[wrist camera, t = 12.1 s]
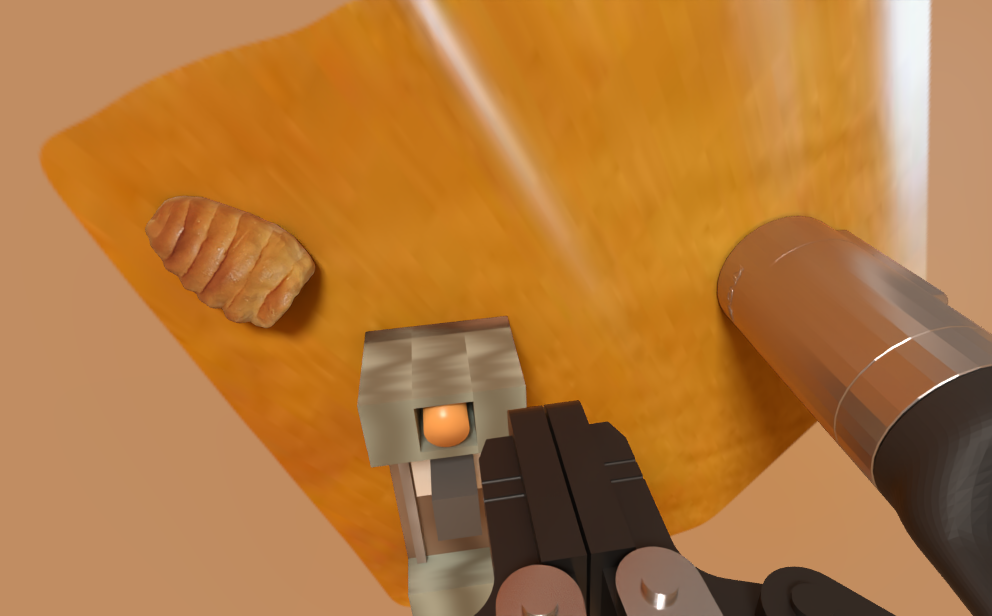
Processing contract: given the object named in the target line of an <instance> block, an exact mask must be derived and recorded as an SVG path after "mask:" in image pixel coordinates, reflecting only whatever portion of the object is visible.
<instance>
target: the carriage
mask: <svg viewBox="0 0 992 616" xmlns="http://www.w3.org/2000/svg"><path fill="white" fill-rule="evenodd" d="M480 454H481V453H477V454H469V455H461V456H454V457H446V458H438V459H431V460H423V461H415V462H411V465H412V471H413V477H414V482H415V488H416V493H417V497H418V496H426V495H432V505H433V511H434V517H435V524H436V530H437V536H438V541H443V540H450V539H457V538H464V537H471V536H478V535H482V528H481V518H480V508H479V498H478V488H482V484H481V476H480V467H479V457H480Z"/></svg>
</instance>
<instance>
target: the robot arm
mask: <svg viewBox="0 0 992 616" xmlns="http://www.w3.org/2000/svg"><path fill="white" fill-rule="evenodd" d="M717 294H718V299H719V303H720V305H721V307H722V309H723V311H724V313H725V314H726V315H727V316H728V318H729V319H730V320H731V321H732V322H733V323H734V324H735V326H736V327H737V328H738V329H739V330H740V331H741V333H742V334H743V335H744V336H745V337H746V338H747V339H748V341H749V342H750V343H751V344H752V346H753V347H754V348H755V349H756V350H757V351H758V353H759V354H760V355H761V356H762V357H763V358H764V359H765V361H766V362H767V363H768V364H769V365H770V366H771V368H772V369H773V370H774V371H775V372H776V373H777V374H778V376H779V377H780V378H781V379H782V380H783V381H784V383H785V384H786V385H787V386H788V387H789V388H790V389H791V391H792V392H793V393H794V394H795V395H796V396H797V398H798V399H799V400H800V401H801V402H802V403H803V404H804V406H805V407H806V408H807V409H808V410H809V411H810V413H811V414H812V415H813V416H814V417H815V418H816V419H817V421H818V422H819V423H820V424H821V425H822V426H823V428H824V429H825V430H826V431H827V432H828V433H829V434H830V436H831V437H832V438H833V439H834V440H835V441H836V442H837V444H838V445H839V446H840V447H841V448H842V449H843V450H844V451H845V452H846V454H847V455H848V456H849V457H850V458H851V460H852V461H853V462H854V463H855V464H856V465H857V466H858V468H859V469H860V470H861V471H862V472H863V473H864V475H865V476H866V477H867V478H868V479H869V480H870V481H871V483H872V484H873V485H874V486H875V487H876V488H877V489H878V491H879V492H880V493H881V494H882V495H883V496H884V497H885V499H886V500H887V501H888V502H889V503H890V504H891V506H892V507H893V508H894V509H895V510H896V512H897V514H898V516H899V518H900V520H901V522H902V524H903V525H904V527H905V529H906V531H907V532H908V534H909V535H910V537H911V538H912V540H913V541H914V542H915V544H916V545H917V546H918V548H919V549H920V550H921V551H922V552H923V554H924V555H925V556H926V557H927V559H928V560H929V561H930V562H931V564H932V565H933V566H934V567H935V568H936V570H937V571H938V572H939V573H940V574H941V576H942V577H943V578H944V579H945V580H946V582H947V583H948V584H949V585H950V587H951V588H952V589H953V591H954V592H955V593H956V595H957V596H958V597H959V598H960V600H961V601H962V602H963V603H964V605H965V606H966V607H967V609H968V610H969V611H970V612H971V614H972V615H973V616H992V334H991V333H989V332H988V331H986V330H985V329H983V328H982V327H980V326H979V325H977V324H976V323H974V322H973V321H971V320H970V319H968V318H966V317H965V316H964V315H962V314H961V313H959V312H957V311H956V310H954V309H953V308H951V307H950V306H948V298H947V296H946V294H944V292H942V291H941V290H939V289H937V288H936V287H934V286H933V285H931V284H930V283H928V282H927V281H925V280H923V279H922V278H920V277H919V276H917V275H916V274H914V273H913V272H911V271H909V270H908V269H906V268H905V267H903V266H902V265H900V264H898V263H897V262H895V261H894V260H892V259H891V258H889V257H888V256H886V255H884V254H883V253H881V252H880V251H878V250H877V249H875V248H874V247H872V246H870V245H869V244H867V243H866V242H864V241H863V240H861V239H860V238H858V237H856V236H855V235H853V234H852V233H850V232H849V231H847V230H842V231H835V230H834V229H832V228H831V227H829V226H828V225H826V224H825V223H823V222H821V221H819V220H816V219H814V218H811V217H803V216H793V217H785V218H781V219H778V220H774V221H771V222H769V223H767V224H765V225H763V226H761V227H759V228H757V229H756V230H754V231H753V232H752V233H750V234H749V235H747V236H746V237H745V238H744V239H743V240H742V241H741V242H740V243H739V244H738V245H737V246H736V247H735V248H734V249H733V251H732V252H731V253H730V255H729V256H728V258H727V259H726V261H725V263H724V265H723V267H722V269H721V272H720V276H719V280H718V291H717ZM507 418H508V431H509V436H505V437H498V438H491V439H486V441H485V444H484V446H483V449H482V452H481V454H480V457H479V467H480V476H481V484H482V492H483V501H484V509H485V517H486V524H487V531H488V538H489V545H490V552H491V560H492V567H493V574H494V585H493V588H492V592H491V594H490V596H489V598H488V600H487V601H486V603H485V604H484V606H483V607H482V608H481V609H480V610H479V611H478V612H477V613H476V614H475V615H474V616H895V615H894V614H892V613H890V612H888V611H887V610H885V609H883V608H882V607H880V606H878V605H876V604H875V603H873V602H871V601H869V600H868V599H866V598H864V597H862V596H861V595H859V594H857V593H855V592H854V591H852V590H850V589H848V588H847V587H845V586H843V585H842V584H840V583H838V582H836V581H835V580H833V579H831V578H829V577H827V576H826V575H824V574H822V573H820V572H817V571H814V570H811V569H807V568H803V567H785V568H780V569H778V570H776V571H774V572H772V573H771V574H770V575H769V576H768V577H767V578H766V579H765V581H764V583H763V584H759V583H752V582H745V581H738V580H731V579H725V578H721V577H716V576H713V575H711V574H708V573H706V572H704V571H701V570H700V569H698V568H697V567H695V566H694V565H693V564H692V563H691V562H690V561H689V560H687V559H686V558H685V557H683V556H682V555H681V554H680V553H679V551H678V550H677V549H676V547H675V546H674V544H673V542H672V540H671V538H670V535H669V533H668V531H667V529H666V526H665V524H664V522H663V520H662V517H661V515H660V513H659V511H658V508H657V506H656V504H655V502H654V500H653V497H652V495H651V493H650V491H649V488H648V486H647V484H646V482H645V479H643V476H642V473H641V471H640V468H639V466H638V464H637V462H635V457H634V455H633V453H632V450H631V448H630V446H629V444H628V441H627V439H626V437H624V436H623V435H622V434H621V433H620V432H619V431H618V430H617V429H616V428H615V427H613V426H612V425H611V424H610V423H609V422H602V423H595V424H589V423H588V420H587V418H586V415H585V413H584V410H583V407H582V405H581V403H580V401H579V400H576V401H569V402H562V403H555V404H547V405H544V407H542V406H534V407H527V408H520V409H513V410H507Z"/></svg>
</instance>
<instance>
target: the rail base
mask: <svg viewBox="0 0 992 616" xmlns="http://www.w3.org/2000/svg"><path fill="white" fill-rule="evenodd" d="M464 402H466V403H467V411H468V419H469V427H470V430H469V434H468V436H467V437H466V439H465V440H464V441H462V442H461V443H459V444H457V445H455V446H451V447H439V446H436V445H433V444H431V443H430V442H429V441H428V440H427V439H426V438H425V435H424V425H423V408H424V407H432V406H440V405H448V404H456V403H464ZM357 407H358V412H359V416H360V420H361V425H362V429H363V434H364V438H365V442H366V447H367V451H368V455H369V460H370V464H371V467H377V466H385V465H389V466H390V471H391V476H392V481H393V486H394V491H395V496H396V501H397V505H398V510H399V515H400V520H401V525H402V530H403V535H404V539H405V544H406V549H407V554H408V596H409V600H410V605H411V610H412V614H413V616H474V615H475V614H476V613H477V612H478V611H479V610H480V609H481V608H482V607H483V606H484V604H485V603H486V601H487V600H488V598H489V596H490V594H491V592H492V588H493V585H494V574H493V567H492V560H491V552H490V545H489V538H488V531H487V524H486V517H485V509H484V501H483V492H482V488H478V498H479V508H480V518H481V528H482V535H478V536H471V537H464V538H457V539H450V540H443V541H438V536H437V530H436V524H435V517H434V511H433V505H432V495H426V496H418V497H417V493H416V488H415V482H414V477H413V471H412V465H411V462H415V461H423V460H431V459H438V458H446V457H454V456H461V455H469V454H477V453H481V452H482V449H483V446H484V444H485V441H486V439H491V438H498V437H505V436H509V431H508V418H507V410H513V409H520V408H526V385H525V381H524V378H523V374H522V370H521V366H520V363H519V359H518V355H517V351H516V348H515V344H514V340H513V336H512V333H511V329H510V325H509V321H508V318H507V316H503V317H494V318H485V319H476V320H467V321H458V322H449V323H440V324H432V325H423V326H414V327H405V328H396V329H387V330H378V331H369V332H366V334H365V343H364V352H363V360H362V369H361V378H360V387H359V396H358V405H357Z"/></svg>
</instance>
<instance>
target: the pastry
mask: <svg viewBox="0 0 992 616" xmlns="http://www.w3.org/2000/svg"><path fill="white" fill-rule="evenodd" d="M145 231H146V234H147V235H148V237H149V240H150V245H151V247H152V248H153V249H154V251H155V252H156V253H157V254H158V255H159V257H160V258H161V259H162V261H163V263H164V266H165V268H166V269H167V270H168V271H169V272H172V273H173V274H175V275H177V276H178V277H179V279H180V281H181V283H182V284H183V287H184V288H185V289H187V290H190V291H193V292H195V293H196V294H197V296H198V298H199V300H200V301H201V302H203V303H205V304H206V305H207V306H209V307H211V308H221V309H222V310H223V311H224V314H225V316H226V318H227V319H229V320H231V321H233V322H236V323H245V322H251V323H253V324H254V325H256V326H259V327H264V328H269V327H271V326H273V325H274V324H275V322H276V321H277V320H278V319H280V318H281V316H282V315H283V314H284V313H285V312H286V311H287V310H288V309H289V307H290V306H291V304H292V302H293V300H294V298H295V296H297V295H298V294H299V293H300V290H301V288H302V287H303V286H304V284H305V283H306V282H307V281H308V280H309V279H310V277H311V276H312V275H313V274H314V271H315V264H314V262H313V260H312V258H311V257H310V255H309V254H308V253H307V251H306V250H305V249H304V248H303V247H302V245H301V244H300V243H299V242H298V241H297V240H296V238H295V237H294V236H293V235H291V234H290V233H288V232H287V231H285V230H284V229H282V228H281V227H279V226H278V225H276V224H274V223H271V222H269V221H266V220H264V219H262V218H260V217H257V216H255V215H253V214H251V213H248V212H245V211H242V210H239V209H236V208H233V207H230V206H228V205H225V204H222V203H219V202H216V201H213V200H210V199H207V198H203V197H189V196H179V197H174V198H170V199H167V200H166V201H165V202H164V203H163V204H162V205H161V206H160V207H159V208H158V210H157V211H156V213H155V215H154V216H153V217H152V218H151V220H150V221H149V222H148V223H147V225H146V227H145Z"/></svg>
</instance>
